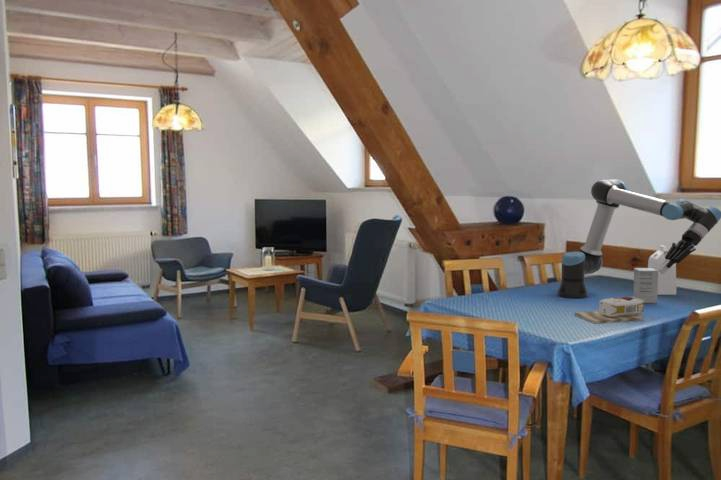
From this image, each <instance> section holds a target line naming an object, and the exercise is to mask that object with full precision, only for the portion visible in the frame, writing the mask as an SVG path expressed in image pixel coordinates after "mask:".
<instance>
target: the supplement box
mask: <svg viewBox="0 0 721 480" xmlns="http://www.w3.org/2000/svg"><path fill="white" fill-rule="evenodd" d="M657 289H658V271H657V270H655V269H653V268H648V267H634V269H633V294H632V295H633V296H632V297H634V298H637V299H642V300H644V304H657V303H658V295H657Z"/></svg>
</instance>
